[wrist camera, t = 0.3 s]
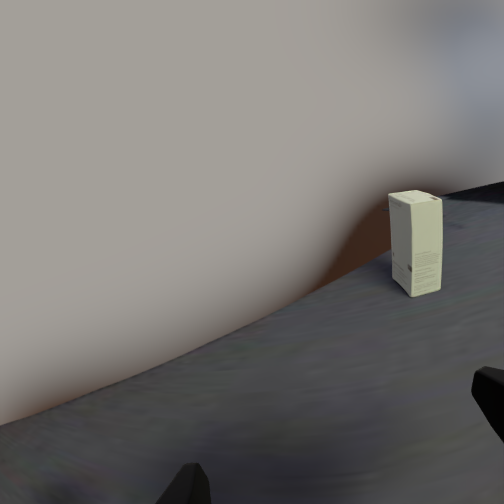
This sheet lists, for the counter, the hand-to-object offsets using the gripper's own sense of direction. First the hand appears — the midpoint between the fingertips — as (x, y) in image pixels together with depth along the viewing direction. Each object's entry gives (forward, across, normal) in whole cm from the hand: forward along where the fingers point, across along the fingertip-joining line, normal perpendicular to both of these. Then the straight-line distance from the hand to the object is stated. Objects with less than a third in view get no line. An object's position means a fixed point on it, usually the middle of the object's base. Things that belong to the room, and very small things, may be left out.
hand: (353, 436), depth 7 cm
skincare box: (+36, -24, +14) cm, 45 cm away
